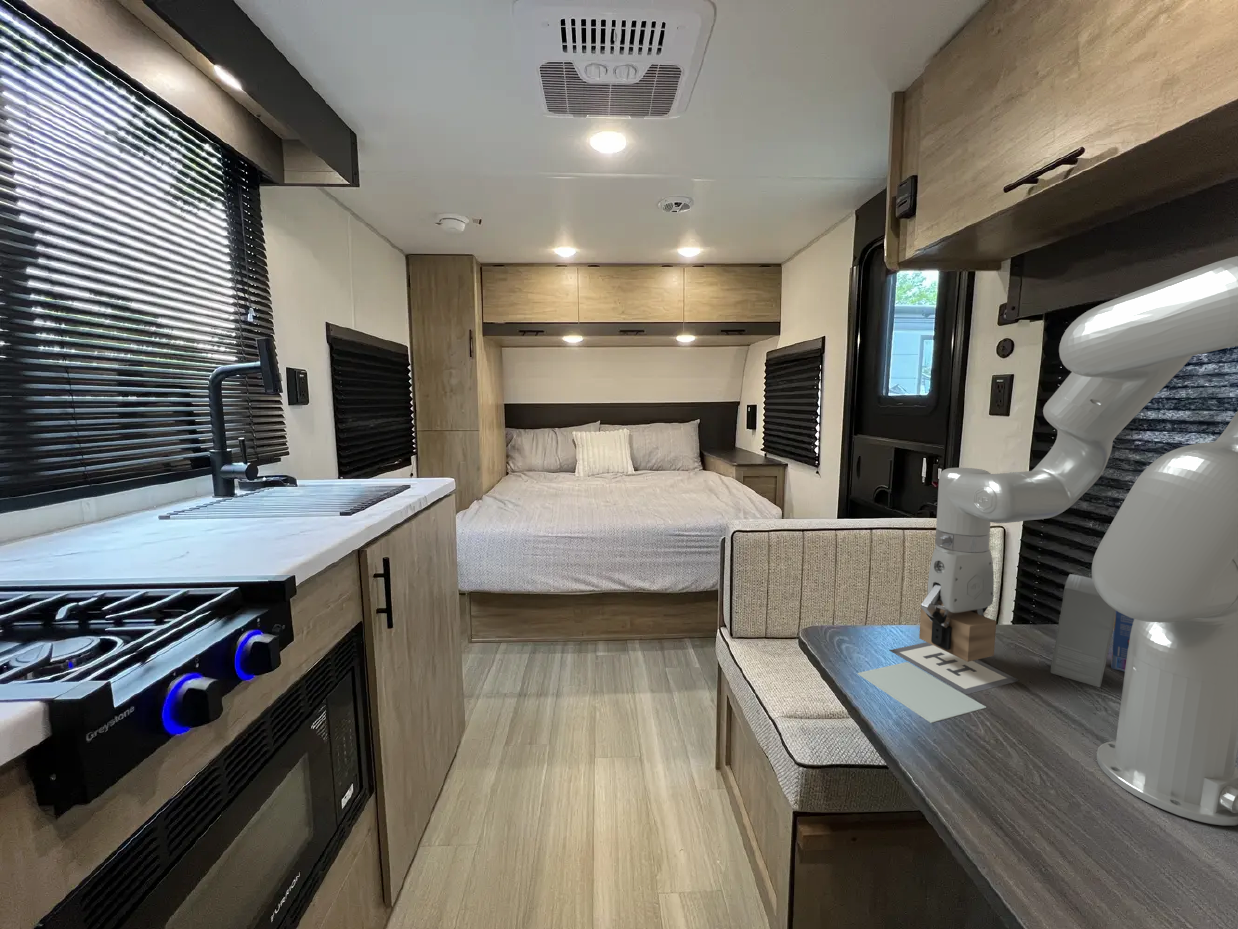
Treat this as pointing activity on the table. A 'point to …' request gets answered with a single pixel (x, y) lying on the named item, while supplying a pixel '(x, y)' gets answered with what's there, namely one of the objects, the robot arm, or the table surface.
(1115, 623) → the ink cartridge box
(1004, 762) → the table surface
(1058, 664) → the skincare box
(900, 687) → the sage mat
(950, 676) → the grey framed panel
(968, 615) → the walnut block
